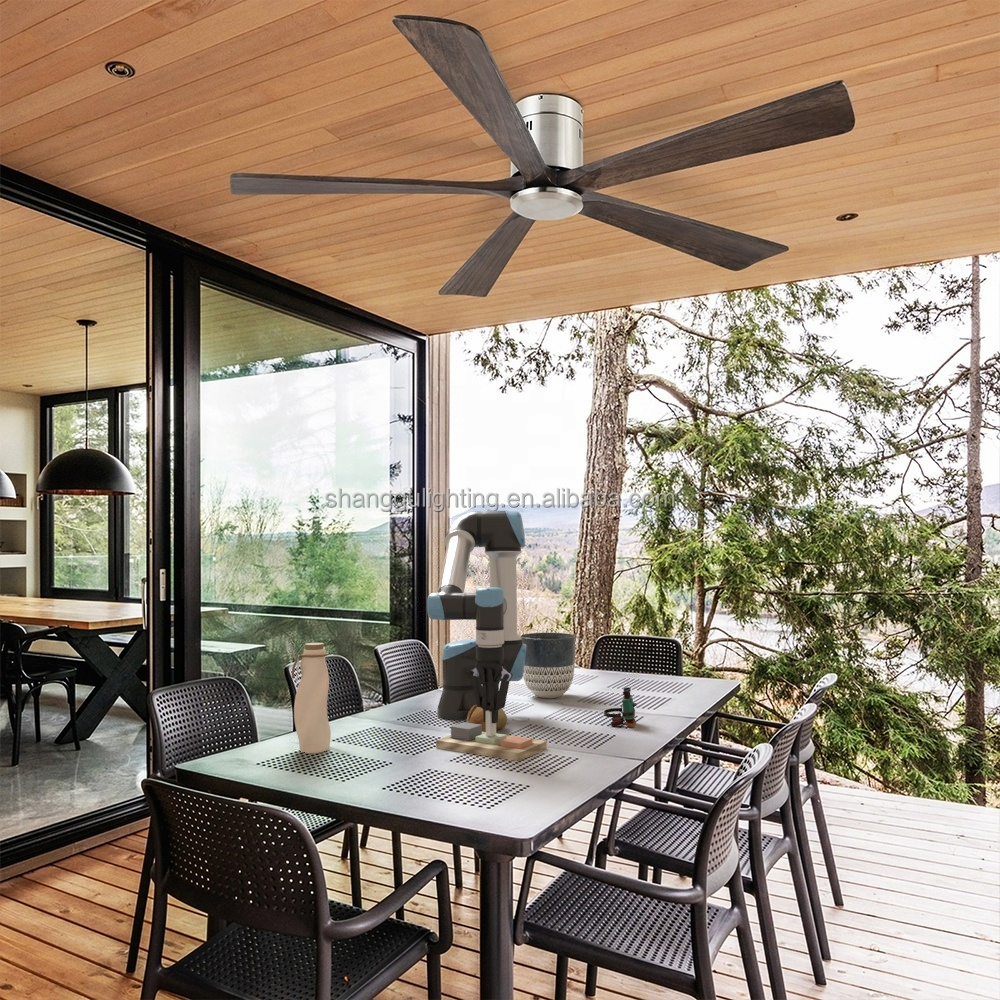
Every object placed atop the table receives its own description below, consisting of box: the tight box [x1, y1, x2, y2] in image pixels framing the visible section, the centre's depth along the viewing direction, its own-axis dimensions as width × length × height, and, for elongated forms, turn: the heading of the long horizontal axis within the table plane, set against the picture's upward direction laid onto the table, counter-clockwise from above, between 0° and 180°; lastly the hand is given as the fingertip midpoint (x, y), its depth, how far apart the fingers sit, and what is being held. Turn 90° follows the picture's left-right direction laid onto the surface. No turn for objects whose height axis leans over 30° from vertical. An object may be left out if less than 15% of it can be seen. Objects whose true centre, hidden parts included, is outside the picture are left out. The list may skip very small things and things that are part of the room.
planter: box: [519, 632, 576, 699], centre depth 281 cm, size 20×20×21 cm
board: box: [435, 732, 548, 762], centre depth 212 cm, size 26×14×2 cm, turn 57°
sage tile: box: [475, 732, 507, 745], centre depth 212 cm, size 6×6×3 cm
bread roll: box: [466, 705, 508, 732], centre depth 231 cm, size 10×15×8 cm, turn 146°
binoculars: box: [603, 686, 638, 728], centre depth 237 cm, size 9×11×10 cm
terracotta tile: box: [501, 735, 533, 749], centre depth 207 cm, size 6×6×3 cm
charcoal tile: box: [450, 721, 482, 741], centre depth 216 cm, size 6×6×3 cm
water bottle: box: [291, 642, 332, 754], centre depth 213 cm, size 10×9×28 cm
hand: (491, 735), depth 212 cm, fingers closed
